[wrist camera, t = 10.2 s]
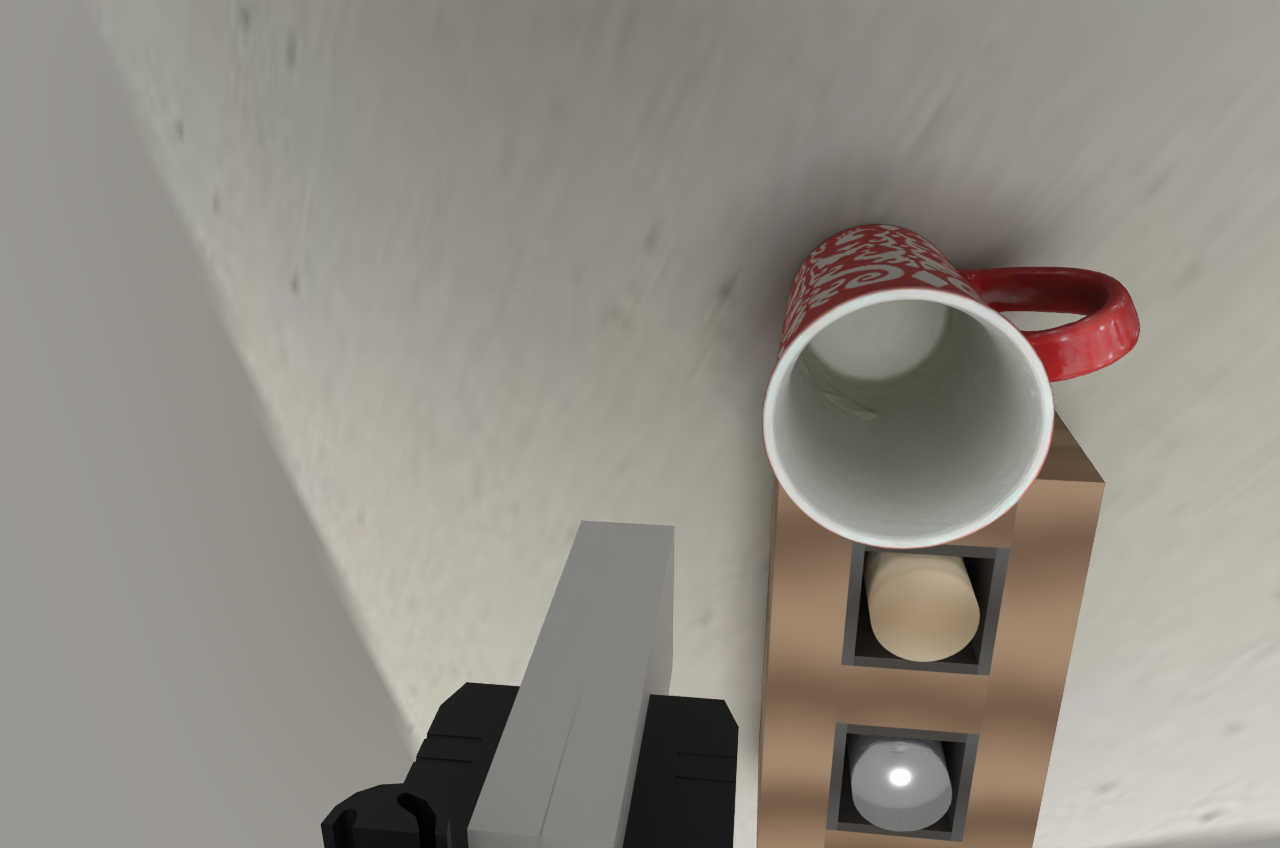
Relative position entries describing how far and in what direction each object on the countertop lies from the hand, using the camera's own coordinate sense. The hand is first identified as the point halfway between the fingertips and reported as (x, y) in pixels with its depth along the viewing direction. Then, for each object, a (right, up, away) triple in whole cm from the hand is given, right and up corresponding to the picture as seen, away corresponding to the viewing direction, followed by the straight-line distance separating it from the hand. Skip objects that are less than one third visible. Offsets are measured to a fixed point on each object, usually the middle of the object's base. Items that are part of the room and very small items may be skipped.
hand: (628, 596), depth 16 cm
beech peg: (+13, -2, +30) cm, 33 cm away
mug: (+12, +9, +27) cm, 31 cm away
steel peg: (+13, -10, +34) cm, 38 cm away
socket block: (+13, -6, +33) cm, 36 cm away
